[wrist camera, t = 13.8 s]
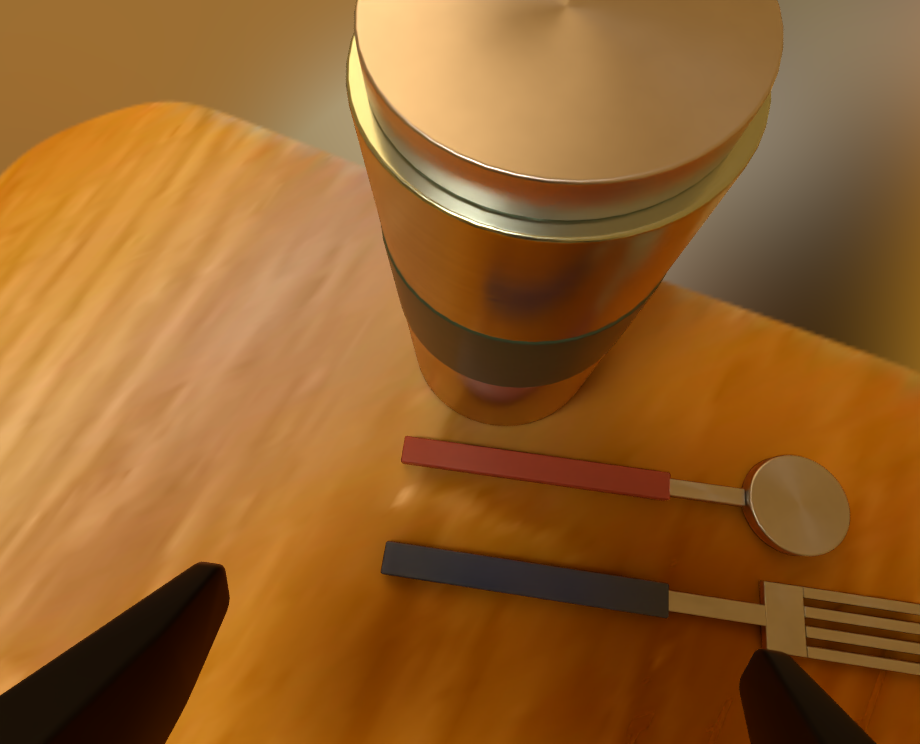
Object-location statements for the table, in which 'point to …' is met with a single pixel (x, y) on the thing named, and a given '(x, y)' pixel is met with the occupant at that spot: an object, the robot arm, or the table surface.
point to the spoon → (676, 488)
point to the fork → (672, 601)
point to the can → (547, 171)
